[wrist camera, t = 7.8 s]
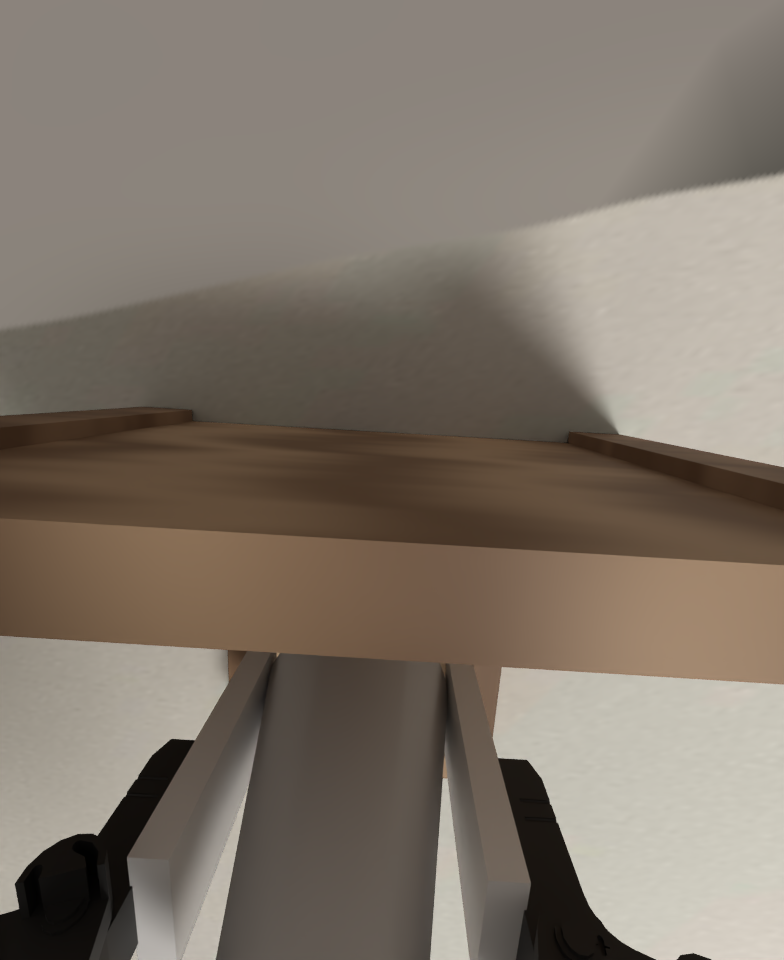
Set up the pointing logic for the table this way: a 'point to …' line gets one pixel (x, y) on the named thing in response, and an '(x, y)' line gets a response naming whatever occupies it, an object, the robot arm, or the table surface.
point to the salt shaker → (341, 814)
